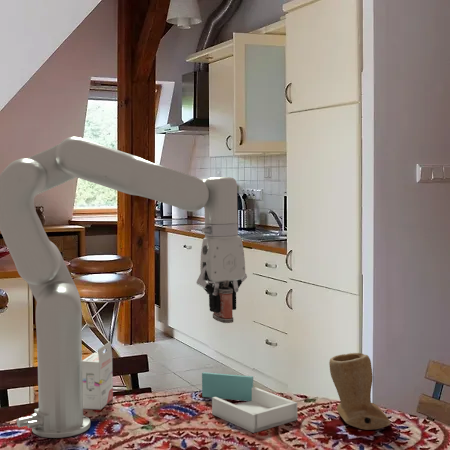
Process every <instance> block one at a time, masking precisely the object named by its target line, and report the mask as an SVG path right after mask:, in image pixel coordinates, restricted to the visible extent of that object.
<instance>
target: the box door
mask: <svg viewBox="0 0 450 450" xmlns="http://www.w3.org/2000/svg"><path fill="white" fill-rule="evenodd" d="M253 387H254V376H252V375H243V374H242V375H239V374H227V373H218V372H217V373H215V372H207V371H205V372H204V371H202V373H201V396H202V398H211V399H212V397H218V398H220V399H222V400H232V401H233V400H234V401H244V402H248V401H252V388H253Z"/></svg>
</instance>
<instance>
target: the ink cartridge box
mask: <svg viewBox="0 0 450 450" xmlns="http://www.w3.org/2000/svg"><path fill="white" fill-rule="evenodd" d="M105 350H106V351H105ZM104 351H105V352H104ZM113 376H114V375H113V351H112V342H111V341H109V342H107V343H105V344H103V346H101V347H100V348H98V349H97V352H93V353H91V354H90V355H89V356H87V357H86V358H84V359H82V379H83V410H85V409H86V410H102V409H103V408H105V406H107V405H108V404H109V403H110V402H111V401H112V400H113V399H114V386H113V385H114V384H113V383H114V380H113V379H114V378H113Z"/></svg>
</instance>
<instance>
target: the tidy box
mask: <svg viewBox="0 0 450 450" xmlns="http://www.w3.org/2000/svg"><path fill="white" fill-rule="evenodd" d="M211 414H212V415H213V416H215V417H217V418H220V419H222V420H224V421H226V422H228V423H231V424H233V425H235V426H237V427H239V428H242V429H244V430H246V431H249V432H250V433H252V434H255V433H258V432H261V431H262V432H263V431H265V430H269V429H271V428H274V427H275V428H276V427H278V426H282V425H285V424H288V423H291V422H295V421H298V402H297V401H294V400H291V399H288V398H285V397H283V396H281V395H277V394H275V393H272V392H270V391H266V390H264V389H262V388H260V387H259V388H258V387H255V386H253V388H252V401H244V402H242V403H237V404H234V403H232V402H230V401H227V400H226V399H220V398H218V397H212V398H211Z"/></svg>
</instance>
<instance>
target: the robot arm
mask: <svg viewBox="0 0 450 450" xmlns="http://www.w3.org/2000/svg"><path fill="white" fill-rule="evenodd" d="M75 178H76V179H77V178H78V179H80V180H83V181H87V182H90V183H92V184H93V183H94V184H96V185H100V186H102V187H105V188H109V189H112V190H115V191H117V192H120V193H124V194H127V195H131V196H139V197H142V198H146V199H150V200H153V201H156V202H159V203H163V204H165V205H169V206H171V207H175V208H178V209H179V210H183V211H185V212H197V211H199V210H201V209H204V227H202V228H201V233H202V235H203V234H204V237H203V239H202V243H201V251H200V274H199V275H198V278H197V280H196V285H198V286H199V287H201V288H202V289H203V290H205V293H206V294H207V295H208V302H209V303H208V306H209V312H212V313H214V312H216V313H219V312H220V295H217V294H218V288H219V282H225V281H228V280H229V284H228V287H230V288H232V289H233V293H232V311H235V310H237V293H239V288H240V287H241V286H242V284H243V282H245V280H246V279H247V277H248V275H247V273H246V261H245V258H246V257H245V250H244V245H243V240H242V237H241V236H240V235H239V231H238V230H239V229H238V228H239V227H238V225H239V224H238V222H239V221H238V217H239V216H238V183H237V181H236V179H235V178H233V177H230V176H221V177H219V176H218V177H217V176H215V177H209V178H200V177H199V178H198V177H196V176H194V175H190V174H188V173H185V172H181V171H178V170H175V169H173V168H170V167H166V166H163V165H160V164H157V163H154V162H151V161H149V160H148V159H147V160H146V159H144V158H143V157H140V156H137V155H134V154H131V153H127V152H124V151H121V150H119V149H115V148H113V147H110V146H106V145H103V144H100V143H98V142H95V141H92V140H89V139H86V138H83V137H78V136H69V137H66V138H64V139H63V140H62V141H61V142H60V143H59V144H57V145H55V146H53V147H50V148H48V149H46V150H44V151H41V152H38V153H36V154H33V155H31V156H29V157H26V158H25V157H22V158H19V159H16V160H13V161H11V162H10V163H9V164H8V165H7V166H6V167H5V168H4V169H3V170H2V172H1V173H0V233H1V235H2V237H3V238H2V239H3V241H4V243H5V245H6V247H7V250H8V252H9V254H10V257H11V258H12V260H13V262H14V264H15V265H14V266H15V268H16V271H17V273H18V275H19V276H20V278H21V279H22V280H24V281H25V282H26V283H27V284H28V288H29V289H30V291H31V293H32V295H33V298H34V299H35V302H36V306H35V326H36V327H35V328H36V331H35V332H36V351H37V352H36V355H37V357H36V360H37V385H38V386H37V387H38V389H37V390H38V391H37V392H38V408H35V409H34V410H33V411H34V413H31V414H30V416H22V417H19V418H17V419H16V425H17V427H18V428H22V427H26V428H27V429H31V431H32V433H33V434H34V435H36V436H39V437H41V438H47V439H52V438H53V439H55V438H56V439H61V438H62V439H63V438H68V437H72V436H73V437H74V436H77V435H80V434H82V433H85V432H86V431H88V430H89V429H90V427H91V419H90V418H89V417H88V416H86V415H84V409H83V379H82V360H83V348H82V347H83V346H82V345H83V344H82V341H83V340H82V337H83V336H82V335H83V334H82V328H83V327H82V324H83V323H82V321H83V320H82V319H83V318H82V317H83V310H82V308H83V307H82V302H81V301H82V300H81V295H80V291H78V288H77V285H76V284H75V281H74V280H73V279H74V278H73V277H72V274H71V273H70V271H69V268H68V266H67V265H66V262H65V260H64V257H63V256H62V253H61V252H60V249H59V247H58V246H57V245H56V244H55V243H54V242H52V241H51V240H50V239H49V237H48V235H47V233H46V231H45V229H44V226H43V224H42V220H41V219H40V217H39V215H38V213H37V210H36V208H35V198H36V196H38V195H40V194H43V193H45V192H46V191H49V190H51V189H54V188H55V187H58V186H60V185H61V186H62V184H65V183H67V182H69V181H71V180H73V179H75Z"/></svg>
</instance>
